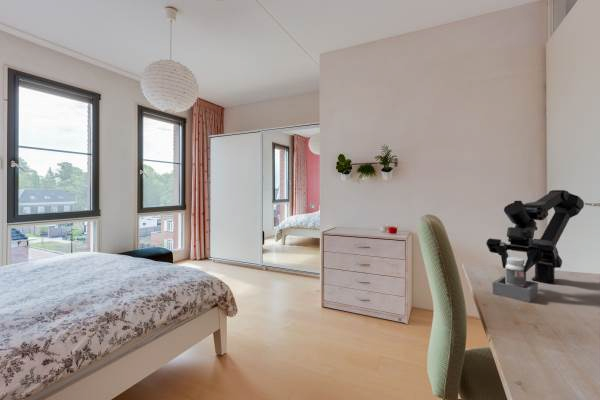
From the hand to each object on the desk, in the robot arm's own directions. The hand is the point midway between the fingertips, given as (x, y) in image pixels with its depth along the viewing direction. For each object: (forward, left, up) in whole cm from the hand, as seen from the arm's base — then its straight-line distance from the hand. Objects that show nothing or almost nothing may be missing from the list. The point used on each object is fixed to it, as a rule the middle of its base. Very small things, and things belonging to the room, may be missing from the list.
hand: (514, 269), depth 94 cm
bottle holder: (-1, 0, -9) cm, 9 cm away
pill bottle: (-1, 0, -7) cm, 7 cm away
